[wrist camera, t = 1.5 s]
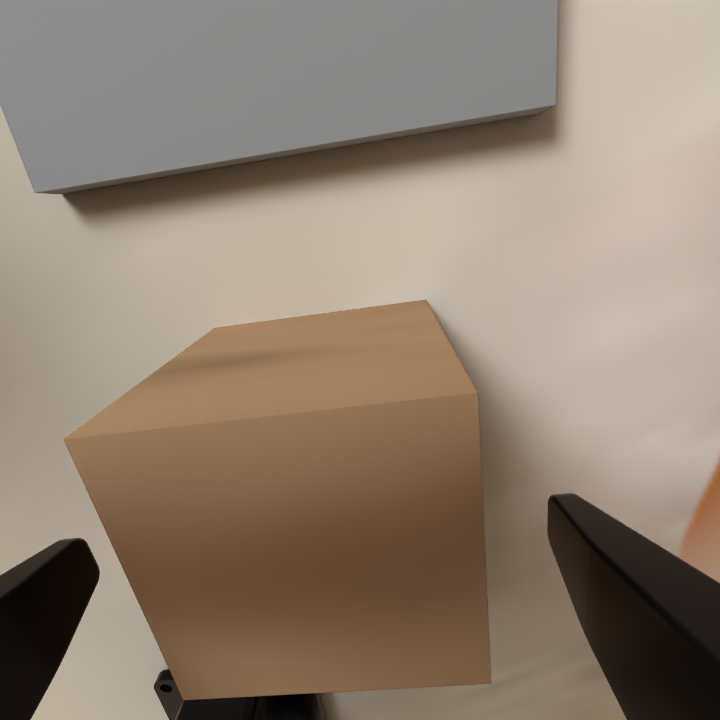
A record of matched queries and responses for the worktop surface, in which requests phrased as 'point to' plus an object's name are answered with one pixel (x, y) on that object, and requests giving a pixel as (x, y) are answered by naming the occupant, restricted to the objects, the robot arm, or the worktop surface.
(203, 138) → the slate mat
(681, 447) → the worktop surface
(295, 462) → the walnut cube
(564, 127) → the worktop surface
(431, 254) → the worktop surface
